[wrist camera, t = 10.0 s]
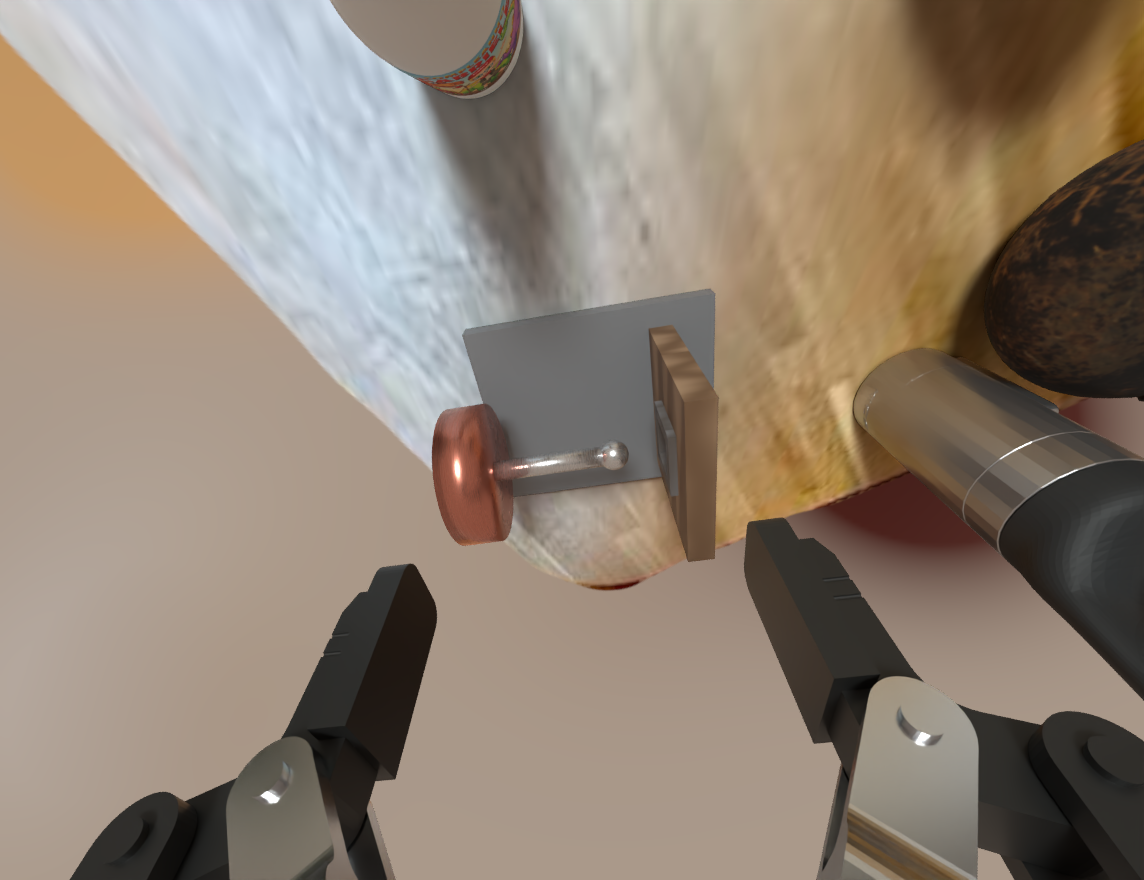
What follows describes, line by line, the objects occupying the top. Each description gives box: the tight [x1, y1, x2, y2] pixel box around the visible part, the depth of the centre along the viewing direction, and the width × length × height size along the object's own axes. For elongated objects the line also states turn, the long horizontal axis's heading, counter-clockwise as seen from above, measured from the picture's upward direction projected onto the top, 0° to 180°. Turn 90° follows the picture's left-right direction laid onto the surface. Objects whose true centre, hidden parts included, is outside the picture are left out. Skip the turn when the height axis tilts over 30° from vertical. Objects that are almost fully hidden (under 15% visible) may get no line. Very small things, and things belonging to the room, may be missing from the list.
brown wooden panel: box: [648, 325, 719, 562], centre depth 35 cm, size 3×14×13 cm, turn 9°
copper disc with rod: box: [432, 404, 629, 546], centre depth 35 cm, size 14×11×11 cm
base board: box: [462, 289, 715, 497], centre depth 42 cm, size 21×18×2 cm
